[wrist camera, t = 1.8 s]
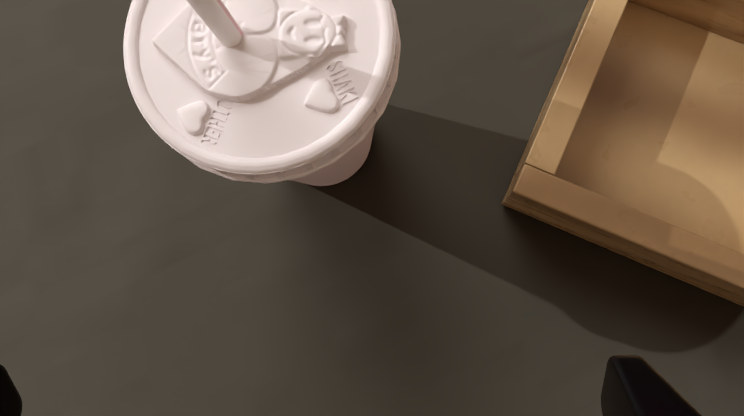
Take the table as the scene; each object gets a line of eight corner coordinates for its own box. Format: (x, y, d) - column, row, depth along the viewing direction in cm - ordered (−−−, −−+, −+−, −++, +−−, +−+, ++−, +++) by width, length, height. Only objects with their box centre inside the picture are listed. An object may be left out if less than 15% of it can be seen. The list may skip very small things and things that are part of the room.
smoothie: (237, 58, 25) (6, -234, 11) (406, 49, 24) (383, -267, 11) (237, 225, 24) (-14, 136, 10) (411, 220, 24) (395, 117, 10)
